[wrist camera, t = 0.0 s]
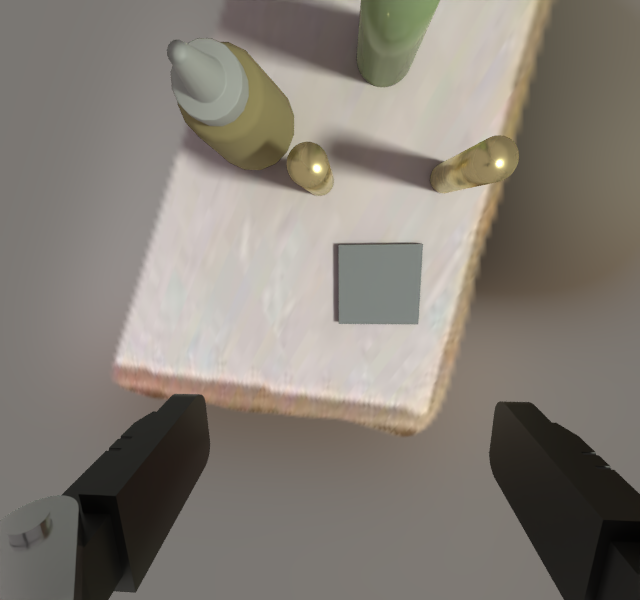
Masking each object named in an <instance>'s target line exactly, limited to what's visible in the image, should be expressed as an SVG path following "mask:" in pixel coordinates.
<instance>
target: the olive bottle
mask: <svg viewBox="0 0 640 600" xmlns="http://www.w3.org/2000/svg"><path fill="white" fill-rule="evenodd" d="M439 2H440V0H361V6H360V19H359V32H358V45H357V65H358V69H359V71H360V73H361V75H362V76H363V78H364V79H365V80H366V81H367V82H369V83H370V84H372V85H374V86H377V87H388V86H392V85H394V84H396V83H398V82H399V81H400V80H402V79H403V78H404V76H405V75H406V74H407V72H408V71H409V69H410V67H411V64H412V62H413V60H414V58H415V55H416V53H417V51H418V49H419V46H420V44H421V42H422V40H423V37H424V35H425V33H426V31H427V28H428V26H429V24H430V22H431V19H432V17H433V15H434V13H435V11H436V8H437V6H438V4H439Z"/></svg>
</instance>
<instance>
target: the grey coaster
mask: <svg viewBox="0 0 640 600" xmlns="http://www.w3.org/2000/svg"><path fill="white" fill-rule="evenodd" d="M422 250H423V244H351V245H339V324H418V319H419V301H420V284H421V267H422Z"/></svg>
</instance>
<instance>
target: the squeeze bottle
mask: <svg viewBox="0 0 640 600" xmlns="http://www.w3.org/2000/svg"><path fill="white" fill-rule="evenodd" d="M167 55H168V57H169V60H170V62H171V63H172V65H173V66H172V70H171V81H172V90H173V92H174V94H175V97H176V99H177V102H178V106H179V108H180V110H181V113H182V115H183V118H184V120H185V122H186V123H187V125H188V126H189V127H190V128H191V129H192V130H193V131H194V132H195V133H196V134H197V135H198V136H199V137H200V138H201V139H202V140H203V141H205V142H206V143H207V144H208V145H209V146H211V147H212V148H213V149H214V150H215V151H216V152H218V153H219V154H220V155H221V156H222V157H224V158H225V159H226V160H227V161H228V162H229V163H232V164H234V165H236V166H238V167H240V168H242V169H244V170H262V169H264V168H267V167H269V166H271V165H274V164H276V163H277V162H278V161H279V160H280V159H281V157H282V156H283V155H284V154H285V153H286V152H287V151H288V148H289V146H290V143H291V141H292V138H293V135H294V114H293V112H292V109H291V106H290V103H289V100H288V98H287V97H286V96H285V95H284V93H283V92H282V91H281V90H280V89H279V88H278V86H277V85H276V84H275V83H274V82H273V81H272V80H271V79H270V77H269V76H268V75H267V74H266V73H265V72H264V71H263V70H262V68H261V67H260V66H259V65H258V64H257V63H256V62H255V61H254V59H253V58H252V57H251V56H250V55H249V54H248V53H247V52H246V50H244V49H241V48H239V47H237V46H235V45H233V44H231V43H229V42H218V41H216V40H214V39H212V38H197V39H195V40H193V41H191V42H189V43H185V42H183V41H181V40H174V41H172V42H171V43H170V44H169V45H168V49H167Z"/></svg>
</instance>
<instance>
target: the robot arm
mask: <svg viewBox="0 0 640 600" xmlns="http://www.w3.org/2000/svg"><path fill="white" fill-rule="evenodd" d="M209 451H210V438H209V429H208V421H207V413H206V403H205V399H204V397H203V395H200V394H174V395H172V396H171V397H170V398H169V399H168V400H167V401H166V402H165V404H164V405H163V406H162V407H161V408H160V409H159V410H158V411H157V412H152V413H150V414H148V415H147V416H145V417H143V418H142V419H140V420H139V421H137V422H135V423H134V424H133V425H132V426H131V427H130V428H129V429H128V430H127V431H126V432H125V433H124V434H123V435H122V436H121V438H120V439H118V440H117V441H116V442H115V443H114V444H113V445H112V446H111V447H110V448H109V451H105V453H104V454H103V455H101V456H100V457H99V458H98V460H96V462H94V463H93V464H92V465H91V466H90V468H88V469H87V470H86V471H85V473H83V474H82V475H81V476H80V477H79V478H78V479H77V480H76V481H75V482H74V483H73V484H72V485H71V486H70V487H69V488H68V489H67V490H66V491H65V492H64V493H63V494H62V495H61V496H60V495H58V496H50V497H46V498H42V499H39V500H36V501H33V502H31V503H29V504H26V505H24V506H22V507H20V508H18V509H17V510H15V511H13V512H12V513H10V514H8V515H7V516H5V517H4V518H3V519H1V520H0V600H108V599H109V598H110V596H111V594H112V593H113V591H120V592H136V591H137V589H138V587H139V586H140V584H141V582H142V580H143V578H144V577H145V575H146V573H147V571H148V569H149V567H150V566H151V564H152V562H153V560H154V558H155V557H156V555H157V553H158V551H159V549H160V548H161V546H162V544H163V542H164V540H165V539H166V537H167V535H168V533H169V531H170V529H171V528H172V526H173V524H174V522H175V520H176V519H177V517H178V515H179V513H180V511H181V510H182V508H183V506H184V504H185V502H186V500H187V499H188V497H189V495H190V493H191V491H192V489H193V488H194V486H195V484H196V482H197V481H198V479H199V477H200V475H201V473H202V471H203V469H204V468H205V466H206V463H207V460H208V457H209ZM489 457H490V465H491V469H492V472H493V475H494V477H495V479H496V481H497V483H498V485H499V486H500V488H501V490H502V492H503V493H504V495H505V497H506V499H507V500H508V502H509V504H510V506H511V508H512V509H513V511H514V513H515V515H516V516H517V518H518V520H519V521H520V523H521V525H522V527H523V529H524V530H525V532H526V534H527V536H528V537H529V539H530V541H531V542H532V544H533V546H534V548H535V550H536V551H537V553H538V555H539V557H540V558H541V560H542V562H543V564H544V565H545V567H546V569H547V571H548V572H549V574H550V576H551V578H552V580H553V581H554V583H555V585H556V587H557V588H558V590H559V592H560V594H561V595H562V597H563V599H564V600H640V494H639V493H638V492H637V491H636V490H635V489H634V488H633V487H632V486H631V485H629V484H628V483H627V482H626V481H625V480H624V479H623V478H622V477H621V476H620V475H619V474H618V473H617V472H616V471H615V470H611V468H610V466H609V465H608V464H607V463H606V462H605V461H604V460H603V459H602V458H601V457H600V456H598V455H596V453H595V451H594V450H593V449H592V448H590V447H589V446H588V445H587V444H586V443H585V442H584V441H583V440H582V439H581V438H580V437H579V436H577V435H576V434H574V433H572V432H571V431H569V430H567V429H565V428H564V427H562V426H561V425H559V424H557V423H552V422H551V421H550V420H549V419H547V417H546V416H545V415H544V414H543V413H542V412H541V411H540V410H539V409H538V408H537V407H536V406H535V405H534V404H532V403H530V402H498V403H497V405H496V407H495V412H494V420H493V428H492V436H491V444H490V452H489Z"/></svg>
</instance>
